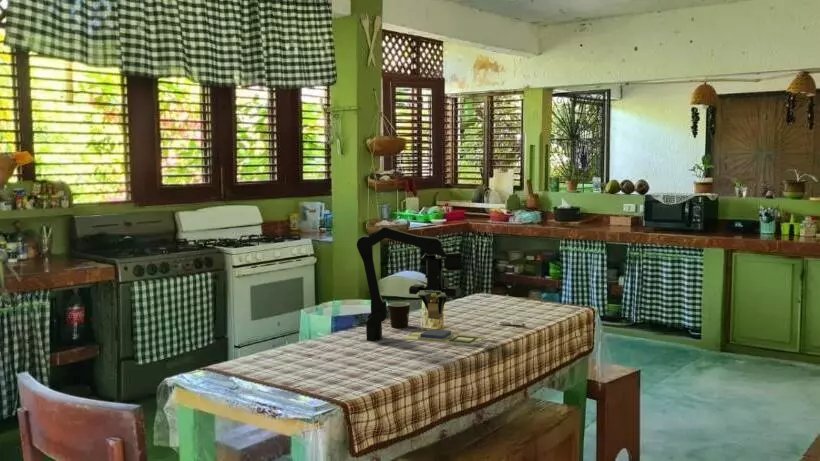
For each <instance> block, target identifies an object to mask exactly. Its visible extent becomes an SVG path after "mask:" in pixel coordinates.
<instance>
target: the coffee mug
mask: <svg viewBox="0 0 820 461" xmlns="http://www.w3.org/2000/svg"><path fill="white" fill-rule="evenodd" d="M387 305H388V306H387V307H388V313H389V320H390V327H391V329H397V330H400V329H401V330H402V329H406V328H408V327H409V318H410V309H411V308H410V307H411V303H409V302H403V301H400V302H399V301H398V302H397V301H396V302H389V303H388V304H387Z"/></svg>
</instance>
